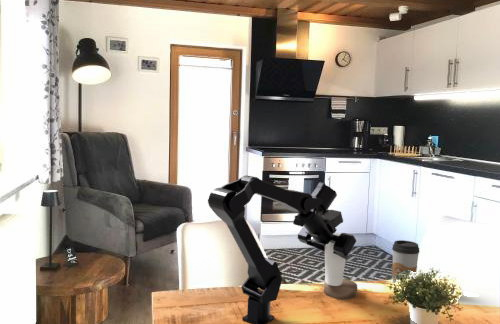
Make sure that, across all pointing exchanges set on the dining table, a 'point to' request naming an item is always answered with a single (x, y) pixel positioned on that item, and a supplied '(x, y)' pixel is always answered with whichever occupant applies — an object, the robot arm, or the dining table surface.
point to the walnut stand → (341, 290)
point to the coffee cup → (404, 257)
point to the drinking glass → (333, 266)
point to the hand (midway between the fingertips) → (337, 254)
